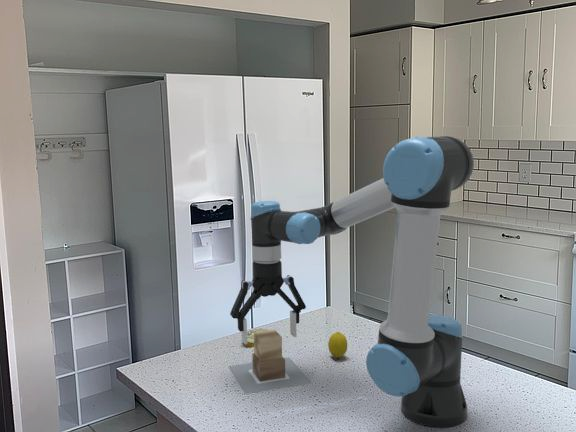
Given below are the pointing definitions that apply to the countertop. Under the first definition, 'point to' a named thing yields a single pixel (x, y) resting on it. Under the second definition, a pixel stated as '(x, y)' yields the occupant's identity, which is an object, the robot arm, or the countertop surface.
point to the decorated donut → (252, 337)
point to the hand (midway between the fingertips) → (269, 339)
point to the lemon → (337, 344)
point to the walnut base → (268, 368)
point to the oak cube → (267, 345)
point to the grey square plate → (253, 384)
